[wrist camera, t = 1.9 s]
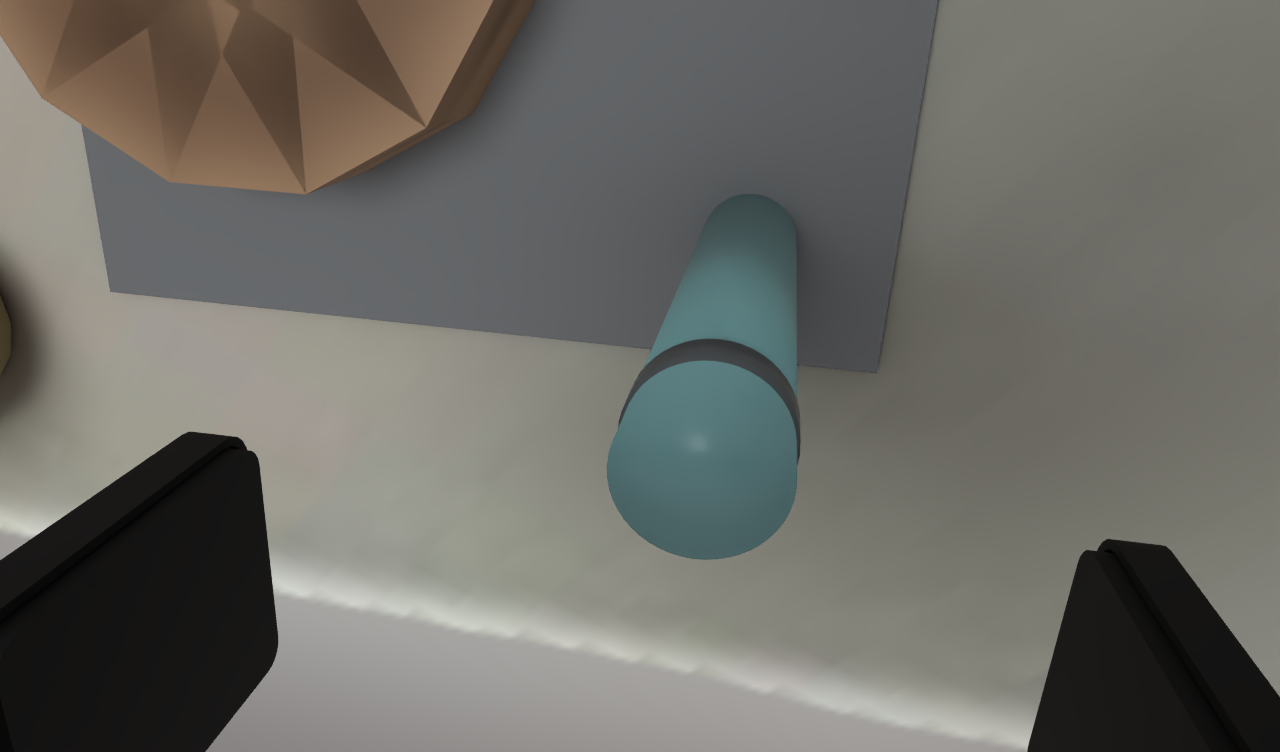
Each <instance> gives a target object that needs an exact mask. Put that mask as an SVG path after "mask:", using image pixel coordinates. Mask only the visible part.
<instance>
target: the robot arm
mask: <svg viewBox="0 0 1280 752" xmlns="http://www.w3.org/2000/svg"><path fill="white" fill-rule="evenodd" d="M277 648H278V631H277V623H276V613H275V604H274V595H273V585H272V576H271V567H270V558H269V549H268V539H267V530H266V521H265V512H264V503H263V494H262V484H261V475H260V466H259V461H258V458H257V456H256V454H255V453H254V452H252V451H248V450H247V448H246V446H245V444H244V442H243V441H242V440H241V439H239V438H238V437H232V436H224V435H215V434H206V433H198V432H187V433H185V434H183V435H181V436H180V437H178V438H177V439H175V440H174V441H173V442H171V443H170V444H168V445H167V446H165V447H164V448H162V449H161V450H159V451H158V452H157V453H155V454H154V455H152V456H151V457H149V458H148V459H146V460H145V461H144V462H142V463H141V464H139V465H138V466H136V467H135V468H133V469H132V470H131V471H129V472H128V473H126V474H125V475H123V476H122V477H120V478H119V479H117V480H116V481H115V482H113V483H112V484H110V485H109V486H107V487H106V488H104V489H103V490H102V491H100V492H99V493H97V494H96V495H94V496H93V497H91V498H90V499H88V500H87V501H86V502H84V503H83V504H81V505H80V506H78V507H77V508H75V509H74V510H73V511H71V512H70V513H68V514H67V515H65V516H64V517H62V518H61V519H60V520H58V521H57V522H55V523H54V524H52V525H51V526H49V527H48V528H46V529H45V530H44V531H42V532H41V533H39V534H38V535H36V536H35V537H33V538H32V539H31V540H29V541H28V542H26V543H25V544H23V545H22V546H20V547H19V548H18V549H16V550H15V551H13V552H12V553H10V554H9V555H7V556H6V557H5V558H3V559H2V560H0V752H205V751H206V750H207V749H208V748H209V746H210V745H211V744H212V743H213V741H214V740H215V739H216V738H217V736H218V735H219V734H220V732H221V731H222V730H223V729H224V727H225V726H226V725H227V724H228V722H229V721H230V720H231V718H232V717H233V716H234V715H235V713H236V712H237V710H239V708H240V707H241V706H242V704H243V703H244V702H245V701H246V699H247V698H248V697H249V696H250V694H251V693H252V692H253V690H254V689H255V688H256V687H257V685H258V684H259V683H260V682H261V680H262V679H263V678H264V676H265V675H266V674H267V673H268V671H269V670H270V668H271V667H272V664H273V662H274V659H275V657H276V653H277ZM1028 752H1280V697H1279V695H1278V694H1277V693H1276V691H1275V690H1274V689H1273V687H1272V686H1271V685H1270V683H1269V682H1268V680H1267V679H1266V678H1265V676H1264V675H1263V674H1262V672H1261V671H1260V670H1259V668H1258V667H1257V666H1256V664H1255V663H1254V662H1253V660H1252V659H1251V658H1250V656H1249V655H1248V654H1247V652H1246V651H1245V650H1244V648H1243V647H1242V646H1241V644H1240V643H1239V641H1238V640H1237V639H1236V637H1235V636H1234V635H1233V633H1232V632H1231V631H1230V629H1229V628H1228V627H1227V625H1226V624H1225V623H1224V621H1223V620H1222V619H1221V617H1220V616H1219V615H1218V613H1217V612H1216V611H1215V609H1214V608H1213V607H1212V605H1211V604H1210V602H1209V601H1208V600H1207V598H1206V597H1205V596H1204V594H1203V593H1202V592H1201V590H1200V589H1199V588H1198V586H1197V585H1196V584H1195V582H1194V581H1193V580H1192V578H1191V577H1190V576H1189V574H1188V573H1187V572H1186V570H1185V569H1184V568H1183V566H1182V565H1181V563H1180V562H1179V561H1178V559H1177V558H1176V557H1175V555H1174V554H1173V553H1172V551H1171V550H1169V549H1168V548H1167V547H1166V546H1162V545H1154V544H1146V543H1137V542H1129V541H1120V540H1112V539H1107V540H1105V541H1103V542H1102V544H1101V545H1100V546H1099V548H1098V550H1097V551H1091V550H1086V551H1085V552H1083V553H1082V555H1081V556H1080V559H1079V562H1078V564H1077V568H1076V572H1075V575H1074V579H1073V583H1072V586H1071V590H1070V594H1069V598H1068V601H1067V605H1066V609H1065V612H1064V616H1063V620H1062V623H1061V627H1060V631H1059V634H1058V638H1057V642H1056V646H1055V649H1054V653H1053V657H1052V660H1051V664H1050V668H1049V671H1048V675H1047V679H1046V682H1045V686H1044V690H1043V693H1042V697H1041V701H1040V705H1039V708H1038V712H1037V716H1036V719H1035V723H1034V727H1033V730H1032V734H1031V738H1030V741H1029V746H1028Z"/></svg>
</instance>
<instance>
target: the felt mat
mask: <svg viewBox="0 0 1280 752" xmlns="http://www.w3.org/2000/svg"><path fill="white" fill-rule="evenodd" d="M937 3H938V0H535V1H534V3H533V5H532V7H531V8H530V10H529V12H528V14H527V16H526V18H525V19H524V21H523V23H522V25H521V27H520V29H519V30H518V32H517V34H516V36H515V38H514V40H513V41H512V43H511V45H510V47H509V49H508V51H507V52H506V54H505V56H504V58H503V60H502V62H501V63H500V65H499V67H498V69H497V71H496V73H495V74H494V76H493V78H492V80H491V82H490V84H489V85H488V87H487V89H486V91H485V93H484V95H483V96H482V98H481V100H480V102H479V104H478V106H477V107H476V109H475V111H474V113H472V114H470V115H469V116H467V117H465V118H463V119H461V120H460V121H458V122H456V123H454V124H452V125H450V126H449V127H447V128H445V129H443V130H441V131H440V132H438V133H436V134H434V135H432V136H430V137H429V138H427V139H425V140H423V141H421V142H419V143H418V144H416V145H414V146H412V147H410V148H409V149H407V150H405V151H403V152H401V153H399V154H398V155H396V156H394V157H392V158H390V159H389V160H387V161H385V162H383V163H381V164H379V165H378V166H376V167H374V168H372V169H370V170H368V171H367V172H365V173H362V174H359V175H357V176H354V177H351V178H349V179H346V180H343V181H341V182H338V183H335V184H333V185H330V186H327V187H325V188H322V189H319V190H317V191H314V192H311V193H309V194H297V193H286V192H275V191H263V190H252V189H241V188H230V187H218V186H207V185H196V184H185V183H173V182H169V181H167V180H166V179H164V178H163V177H161V176H159V175H158V174H156V173H155V172H153V171H152V170H150V169H149V168H147V167H146V166H144V165H143V164H141V163H140V162H138V161H137V160H135V159H134V158H132V157H131V156H129V155H128V154H126V153H125V152H123V151H122V150H120V149H119V148H117V147H116V146H114V145H112V144H111V143H109V142H108V141H106V140H105V139H103V138H102V137H100V136H99V135H97V134H96V133H94V132H93V131H91V130H90V129H88V128H87V127H85V126H84V125H82V130H83V136H84V142H85V147H86V153H87V159H88V165H89V171H90V176H91V182H92V188H93V194H94V199H95V205H96V211H97V217H98V223H99V228H100V234H101V240H102V246H103V252H104V257H105V263H106V269H107V275H108V280H109V286H110V292H117V293H127V294H136V295H146V296H155V297H164V298H174V299H183V300H193V301H202V302H211V303H221V304H230V305H240V306H249V307H259V308H268V309H277V310H287V311H296V312H306V313H315V314H324V315H334V316H343V317H353V318H362V319H371V320H381V321H390V322H400V323H409V324H419V325H428V326H437V327H447V328H456V329H466V330H475V331H484V332H494V333H503V334H513V335H522V336H532V337H541V338H550V339H560V340H569V341H579V342H588V343H597V344H607V345H616V346H626V347H635V348H644V349H652V348H653V345H654V343H655V341H656V338H657V336H658V334H659V331H660V329H661V327H662V324H663V322H664V320H665V317H666V315H667V312H668V310H669V308H670V305H671V303H672V301H673V298H674V296H675V294H676V291H677V289H678V287H679V284H680V282H681V280H682V277H683V275H684V273H685V270H686V268H687V265H688V263H689V261H690V258H691V256H692V254H693V251H694V249H695V247H696V244H697V242H698V240H699V237H700V235H701V233H702V230H703V228H704V226H705V223H706V221H707V219H708V217H709V215H710V214H711V213H712V211H713V210H714V209H715V208H716V207H717V206H718V205H719V204H721V203H722V202H723V201H725V200H727V199H729V198H731V197H733V196H737V195H741V194H758V195H763V196H766V197H768V198H771V199H773V200H774V201H776V202H777V203H779V204H780V205H781V206H782V207H783V208H784V209H785V210H786V211H787V212H788V214H789V215H790V217H791V219H792V221H793V223H794V226H795V230H796V238H797V365H805V366H814V367H823V368H833V369H842V370H852V371H861V372H870V373H877V369H878V363H879V357H880V351H881V345H882V339H883V333H884V327H885V321H886V314H887V308H888V302H889V296H890V290H891V284H892V278H893V272H894V266H895V260H896V253H897V247H898V241H899V235H900V229H901V223H902V217H903V211H904V205H905V199H906V193H907V186H908V180H909V174H910V168H911V162H912V156H913V150H914V144H915V138H916V132H917V125H918V119H919V113H920V107H921V101H922V95H923V89H924V83H925V77H926V71H927V64H928V58H929V52H930V46H931V40H932V34H933V28H934V22H935V16H936V10H937Z"/></svg>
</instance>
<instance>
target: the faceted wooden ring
mask: <svg viewBox="0 0 1280 752" xmlns="http://www.w3.org/2000/svg"><path fill="white" fill-rule="evenodd" d="M534 1H535V0H0V36H1V37H2V39H3V40H4V42H5V43H6V45H7V46H8V48H9V49H10V51H11V52H12V54H13V55H14V57H15V58H16V60H17V61H18V63H19V64H20V66H21V67H22V69H23V70H24V72H25V73H26V75H27V76H28V78H29V79H30V81H31V82H32V84H33V85H34V87H35V88H36V90H37V91H38V93H39V94H40V96H41V98H43V99H44V100H46V101H47V102H49V103H50V104H52V105H53V106H55V107H56V108H58V109H59V110H61V111H62V112H64V113H66V114H67V115H69V116H70V117H72V118H73V119H75V120H76V121H78V122H79V123H81V124H82V125H84V126H85V127H87V128H88V129H90V130H91V131H93V132H94V133H96V134H97V135H99V136H100V137H102V138H103V139H105V140H106V141H108V142H109V143H111V144H112V145H114V146H116V147H117V148H119V149H120V150H122V151H123V152H125V153H126V154H128V155H129V156H131V157H132V158H134V159H135V160H137V161H138V162H140V163H141V164H143V165H144V166H146V167H147V168H149V169H150V170H152V171H153V172H155V173H156V174H158V175H159V176H161V177H163V178H164V179H166V180H167V181H169V182H173V183H185V184H196V185H207V186H218V187H230V188H241V189H252V190H263V191H275V192H286V193H297V194H309V193H311V192H314V191H317V190H319V189H322V188H325V187H327V186H330V185H333V184H335V183H338V182H341V181H343V180H346V179H349V178H351V177H354V176H357V175H359V174H362V173H365V172H367V171H368V170H370V169H372V168H374V167H376V166H378V165H379V164H381V163H383V162H385V161H387V160H389V159H390V158H392V157H394V156H396V155H398V154H399V153H401V152H403V151H405V150H407V149H409V148H410V147H412V146H414V145H416V144H418V143H419V142H421V141H423V140H425V139H427V138H429V137H430V136H432V135H434V134H436V133H438V132H440V131H441V130H443V129H445V128H447V127H449V126H450V125H452V124H454V123H456V122H458V121H460V120H461V119H463V118H465V117H467V116H469V115H470V114H472V113H474V111H475V109H476V107H477V106H478V104H479V102H480V100H481V98H482V96H483V95H484V93H485V91H486V89H487V87H488V85H489V84H490V82H491V80H492V78H493V76H494V74H495V73H496V71H497V69H498V67H499V65H500V63H501V62H502V60H503V58H504V56H505V54H506V52H507V51H508V49H509V47H510V45H511V43H512V41H513V40H514V38H515V36H516V34H517V32H518V30H519V29H520V27H521V25H522V23H523V21H524V19H525V18H526V16H527V14H528V12H529V10H530V8H531V7H532V5H533V3H534Z"/></svg>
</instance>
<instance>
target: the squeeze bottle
mask: <svg viewBox="0 0 1280 752" xmlns="http://www.w3.org/2000/svg"><path fill="white" fill-rule="evenodd" d="M10 356H11V322H10V320H9V317H8V314H7V312H6V309H5V306H4V304H3V301H2V298H1V296H0V376H1V374H2V372H3V370H4V368H5V366H6V364H7V362H8V360H9V358H10Z"/></svg>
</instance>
